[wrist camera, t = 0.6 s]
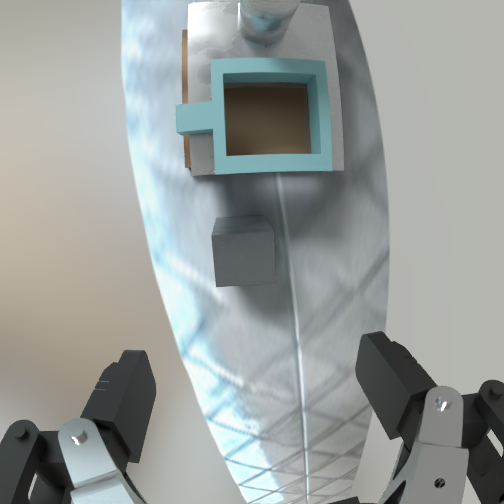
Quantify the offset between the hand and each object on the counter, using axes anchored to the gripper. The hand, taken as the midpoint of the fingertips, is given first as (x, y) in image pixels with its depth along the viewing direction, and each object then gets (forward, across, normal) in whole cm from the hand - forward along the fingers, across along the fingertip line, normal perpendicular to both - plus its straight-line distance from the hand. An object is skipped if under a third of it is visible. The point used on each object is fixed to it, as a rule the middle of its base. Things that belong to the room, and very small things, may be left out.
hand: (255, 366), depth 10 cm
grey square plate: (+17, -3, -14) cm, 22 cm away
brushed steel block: (+19, 0, 0) cm, 19 cm away
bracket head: (+14, -1, -11) cm, 17 cm away
